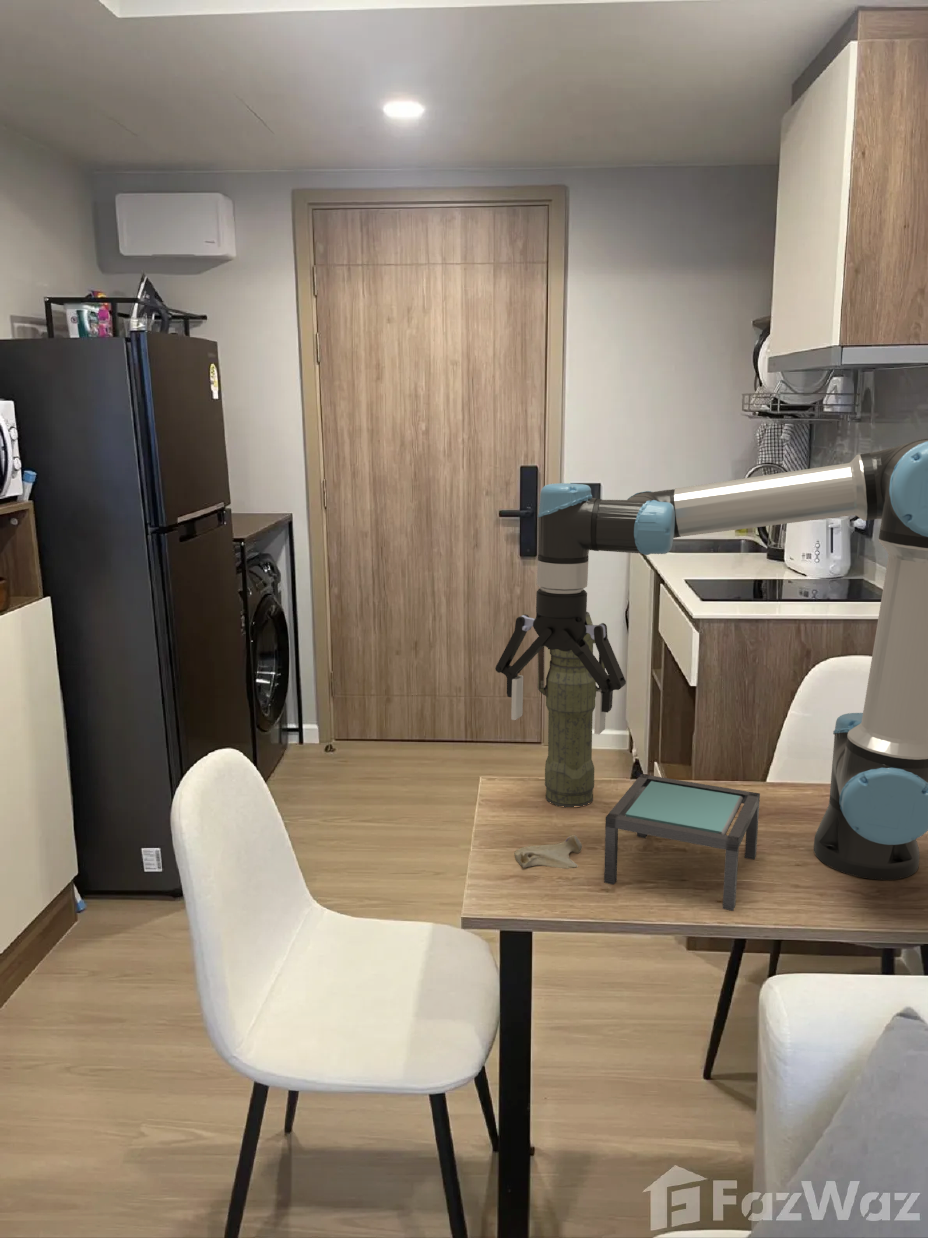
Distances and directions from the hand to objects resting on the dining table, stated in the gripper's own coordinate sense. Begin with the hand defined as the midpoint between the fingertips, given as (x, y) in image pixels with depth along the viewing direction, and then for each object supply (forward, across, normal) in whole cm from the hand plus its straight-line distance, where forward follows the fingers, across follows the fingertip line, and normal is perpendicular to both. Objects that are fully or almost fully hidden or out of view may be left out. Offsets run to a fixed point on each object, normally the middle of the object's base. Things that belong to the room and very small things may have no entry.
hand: (557, 724), depth 141 cm
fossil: (+22, 0, +1) cm, 23 cm away
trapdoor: (+12, -19, -4) cm, 23 cm away
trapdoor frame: (+21, -19, -4) cm, 29 cm away
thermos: (+22, +6, -22) cm, 32 cm away
